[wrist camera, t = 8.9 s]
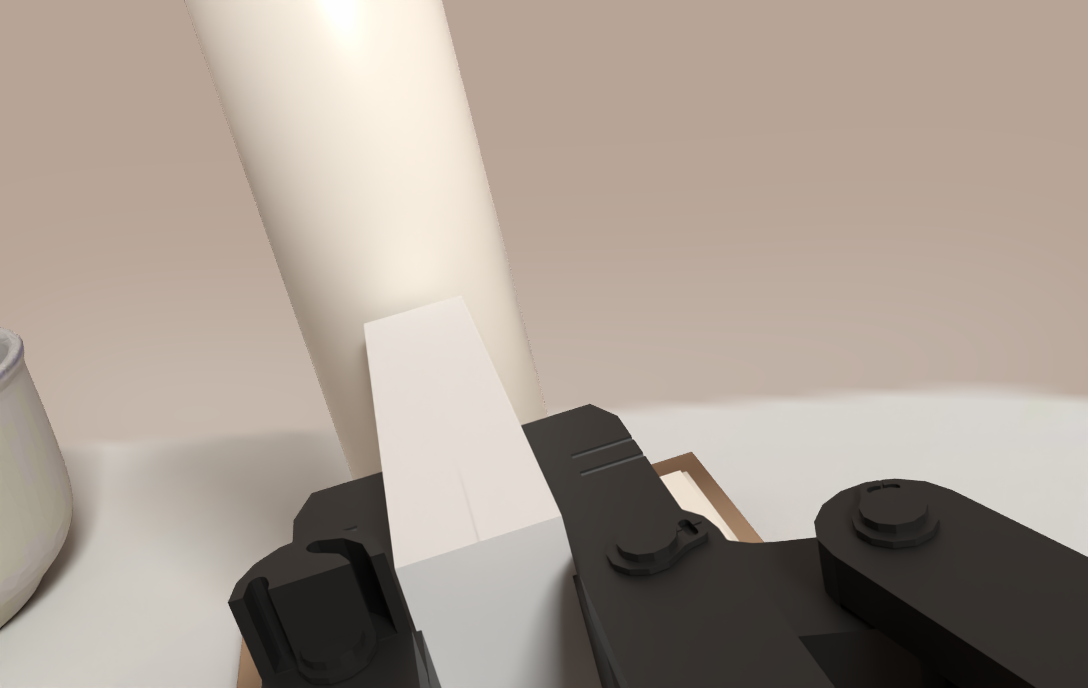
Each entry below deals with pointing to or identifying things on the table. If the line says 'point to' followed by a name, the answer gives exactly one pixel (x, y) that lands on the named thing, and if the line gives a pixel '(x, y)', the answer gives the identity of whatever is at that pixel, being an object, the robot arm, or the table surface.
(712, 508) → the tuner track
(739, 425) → the table surface
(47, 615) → the table surface
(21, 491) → the teacup
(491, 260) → the tuning slider
